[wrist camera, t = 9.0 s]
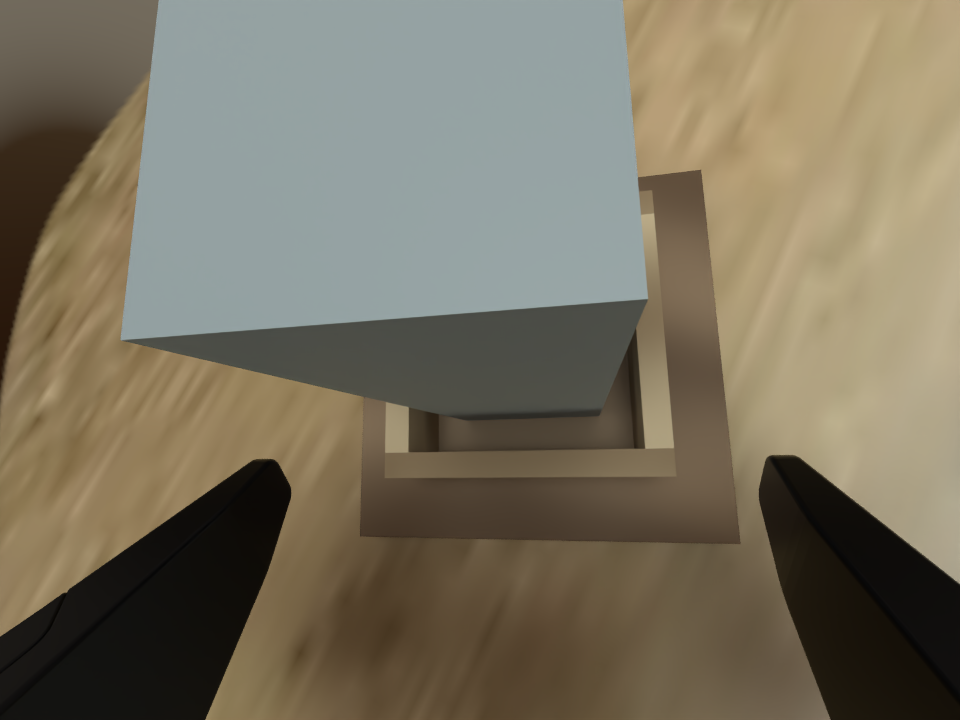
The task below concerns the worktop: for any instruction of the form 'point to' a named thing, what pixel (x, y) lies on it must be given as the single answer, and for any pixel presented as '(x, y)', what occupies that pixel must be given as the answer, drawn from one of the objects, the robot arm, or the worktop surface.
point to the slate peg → (394, 199)
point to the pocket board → (584, 428)
